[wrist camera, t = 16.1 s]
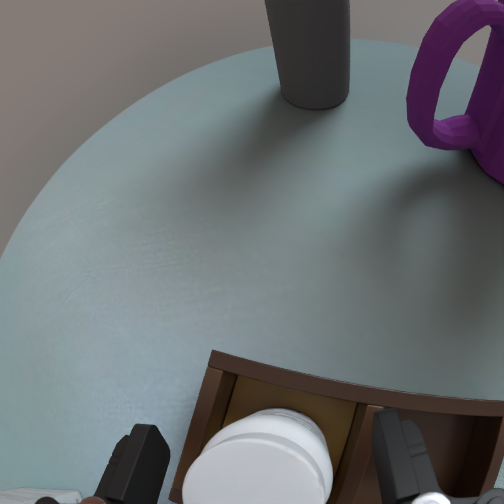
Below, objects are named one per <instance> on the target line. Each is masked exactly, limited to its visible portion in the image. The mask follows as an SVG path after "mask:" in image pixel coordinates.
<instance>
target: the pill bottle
mask: <svg viewBox="0 0 504 504" xmlns="http://www.w3.org/2000/svg"><path fill="white" fill-rule="evenodd" d="M332 483H333V470H332V465H331V461H330V457H329V453H328V449H327V445H326V441H325V437H324V435H323V433H322V431H321V429H320V428H319V426H318V425H317V424H316V422H315V421H314V420H313V419H312V418H310V417H309V416H308V415H306V414H305V413H303V412H301V411H298V410H295V409H292V408H287V407H272V408H266V409H263V410H260V411H258V412H255V413H254V414H252V415H250V416H247V417H245V418H243V419H241V420H238V421H236V422H234V423H232V424H230V425H228V426H226V427H225V428H223V429H222V430H220V431H219V432H218V433H217V434H215V435H214V436H213V437H212V438H211V439H210V441H209V442H208V443H207V444H206V446H205V447H204V449H203V451H202V452H201V455H200V456H199V457H198V458H197V459H196V460H195V461H194V462H193V464H192V465H191V466H190V468H189V469H188V472H187V474H186V476H185V479H184V483H183V488H182V498H183V504H326V502H327V500H328V498H329V496H330V492H331V489H332Z"/></svg>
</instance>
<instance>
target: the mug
mask: <svg viewBox="0 0 504 504" xmlns="http://www.w3.org/2000/svg"><path fill="white" fill-rule="evenodd" d="M486 25H490V27H491V28H492V29H491V33H490V37H489V41H488V44H487V48H486V51H485V55H484V58H483V62H482V65H481V68H480V71H479V74H478V78H477V81H476V84H475V87H474V89H473V92H472V95H471V98H470V101H469V104H468V106H467V109H466V112H465V115H459V116H453V117H450V118H447V119H444V120H441V121H439V120H435V119H434V113H435V109H436V105H437V101H438V97H439V92H440V88H441V86H442V84H443V81H444V79H445V77H446V74H447V72H448V69H449V67H450V65H451V62H452V60H453V58H454V56H455V55H456V53H457V51H458V50H459V48H460V47H461V45H462V44H463V42H464V41H466V40H467V39H468V38H469V37H470V36H472V35H473V34H474V33H475V32H476V31H478V30H480V29H481V28H483V27H484V26H486ZM406 101H407V120H408V123H409V126H410V127H411V129H412V130H413V131H414V132H415V134H416V135H417V136H418V137H419V139H420V140H421V141H422V142H423V143H424V145H425V146H429V147H433V148H437V149H442V150H462V149H467V148H470V149H471V151H472V153H473V154H474V156H475V158H476V160H477V162H478V163H479V165H480V166H481V167H482V169H483V170H484V171H485V172H486V173H487V174H488V175H490V176H492V177H493V178H495V179H496V180H498V181H499V182H500V183H502V184H503V185H504V0H498V2H497V1H495V0H457V1H455V2H454V3H452V4H450V5H449V6H448V7H447V8H446V9H445V10H444V11H443V12H442V13H441V14H440V15H438V16H437V17H436V18H435V20H434V22H433V23H432V25H431V26H430V28H429V30H428V31H427V33H426V35H425V36H424V38H423V41H422V43H421V46H420V49H419V52H418V54H417V57H416V60H415V62H414V65H413V68H412V70H411V75H410V81H409V86H408V92H407V97H406Z"/></svg>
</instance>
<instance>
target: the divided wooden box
mask: <svg viewBox="0 0 504 504" xmlns="http://www.w3.org/2000/svg"><path fill="white" fill-rule="evenodd" d="M272 407H287V408H292V409H295V410H298V411H301V412H303V413H305V414H306V415H308V416H309V417H310V418H312V419H313V420H314V421H315V422H316V424H317V425H318V426H319V428H320V429H321V431H322V433H323V435H324V437H325V441H326V445H327V449H328V453H329V457H330V461H331V465H332V470H333V483H332V489H331V492H330V496H329V498H328V500H327V502H326V504H382V499H381V493H380V488H379V482H378V477H377V472H376V466H375V461H374V456H373V452H372V445H371V433H372V425H373V417H374V412H376V411H381V410H386V409H391V408H396V410H397V413H398V416H399V419H400V421H403V420H407V419H411V420H412V421H413V422H414V423H415V424H416V425H417V426H418V427H419V428H420V430H421V433H422V436H423V439H424V442H425V444H426V447H427V452H428V453H429V456H430V459H431V463H432V466H433V469H434V472H435V475H436V479H437V482H438V485H439V487H440V489H441V490H442V491H443V492H444V493H445V494H446V495H448V496H450V497H454V498H467V497H479V496H481V495H482V494H483V493H484V492H486V491H487V490H490V489H493V487H494V484H495V482H496V479H497V476H498V473H499V470H500V467H501V464H502V460H503V457H504V401H498V400H481V399H467V398H456V397H445V396H436V395H427V394H419V393H411V392H404V391H397V390H390V389H384V388H378V387H372V386H366V385H360V384H355V383H349V382H344V381H339V380H334V379H329V378H324V377H319V376H314V375H310V374H305V373H301V372H296V371H292V370H288V369H284V368H279V367H275V366H271V365H267V364H263V363H259V362H256V361H252V360H248V359H244V358H241V357H237V356H233V355H230V354H226V353H223V352H219V351H216V350H212V352H211V355H210V359H209V362H208V367H207V369H206V373H205V376H204V379H203V383H202V386H201V389H200V393H199V396H198V400H197V403H196V406H195V410H194V413H193V416H192V420H191V423H190V427H189V430H188V434H187V437H186V440H185V444H184V447H183V451H182V454H181V457H180V461H179V464H178V468H177V471H176V475H175V478H174V482H173V485H172V488H171V492H170V495H169V500H170V501H172V502H175V503H177V504H183V498H182V488H183V483H184V479H185V476H186V474H187V472H188V469H189V468H190V466H191V465H192V464H193V462H194V461H195V460H196V459H197V458H198V457H199V456H200V455H201V452H202V451H203V449H204V447H205V446H206V444H207V443H208V442H209V441H210V439H211V438H212V437H213V436H214V435H215V434H217V433H218V432H219V431H220V430H222V429H223V428H225V427H226V426H228V425H230V424H232V423H234V422H236V421H238V420H241V419H243V418H245V417H247V416H250V415H252V414H254V413H255V412H258V411H260V410H263V409H266V408H272Z"/></svg>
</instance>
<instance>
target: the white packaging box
mask: <svg viewBox="0 0 504 504" xmlns="http://www.w3.org/2000/svg"><path fill="white" fill-rule="evenodd" d="M45 496H49V497H52V498H54V499H55V500H56V501H58V502H59V503H60V504H79V503H80V502H81V501H82V497H81V495H80V493H79V491H71V490H49V489H32V488H18V489H11V490H3V491H0V504H35V502H36V501H37V500H38V499H40V498H42V497H45Z"/></svg>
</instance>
